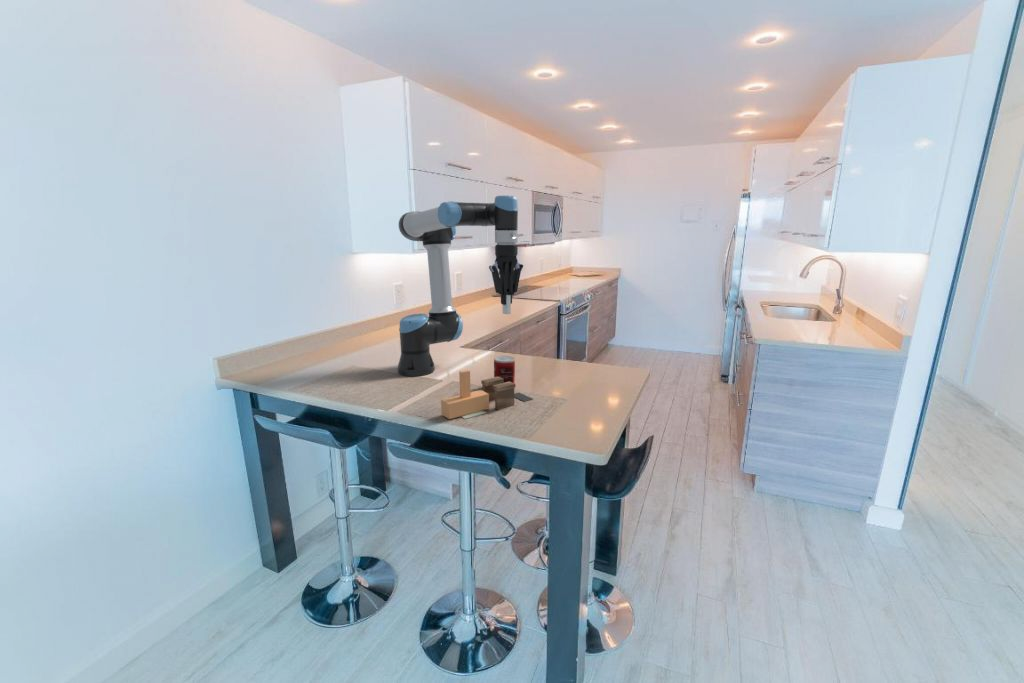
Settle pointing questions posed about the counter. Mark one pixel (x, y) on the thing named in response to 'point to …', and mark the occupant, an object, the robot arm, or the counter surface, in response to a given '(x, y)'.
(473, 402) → the tan inverted t block
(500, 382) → the dark brown box
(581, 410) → the counter surface
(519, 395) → the pit patch
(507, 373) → the canned food
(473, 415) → the pad
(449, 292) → the robot arm
